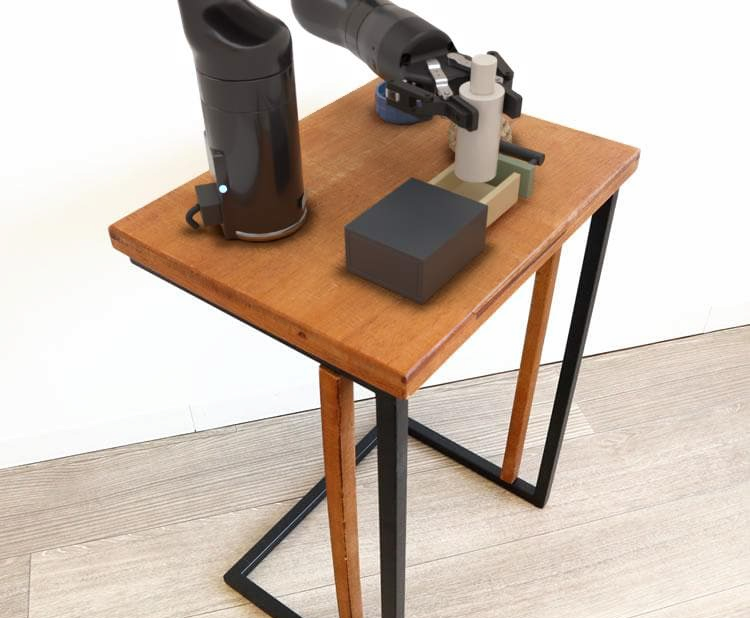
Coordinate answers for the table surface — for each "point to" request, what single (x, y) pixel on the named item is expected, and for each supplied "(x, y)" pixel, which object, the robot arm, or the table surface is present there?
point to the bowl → (391, 108)
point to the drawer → (498, 180)
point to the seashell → (504, 135)
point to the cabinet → (415, 239)
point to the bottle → (480, 123)
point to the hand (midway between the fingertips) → (497, 115)
